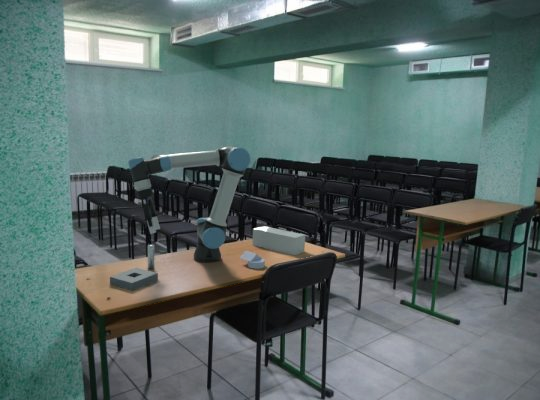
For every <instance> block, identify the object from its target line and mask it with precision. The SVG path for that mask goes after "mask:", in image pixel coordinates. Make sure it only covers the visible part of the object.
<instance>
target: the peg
mask: <svg viewBox="0 0 540 400" xmlns="http://www.w3.org/2000/svg"><path fill="white" fill-rule="evenodd" d="M147 269H148V270H154V269H155V244H148V245H147Z"/></svg>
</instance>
